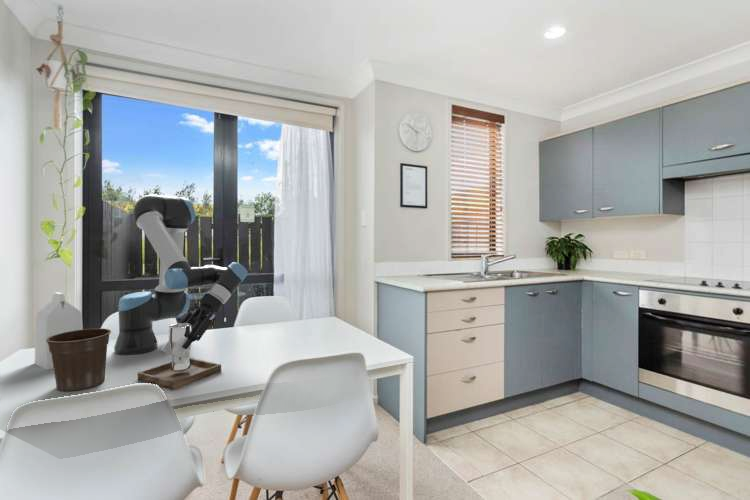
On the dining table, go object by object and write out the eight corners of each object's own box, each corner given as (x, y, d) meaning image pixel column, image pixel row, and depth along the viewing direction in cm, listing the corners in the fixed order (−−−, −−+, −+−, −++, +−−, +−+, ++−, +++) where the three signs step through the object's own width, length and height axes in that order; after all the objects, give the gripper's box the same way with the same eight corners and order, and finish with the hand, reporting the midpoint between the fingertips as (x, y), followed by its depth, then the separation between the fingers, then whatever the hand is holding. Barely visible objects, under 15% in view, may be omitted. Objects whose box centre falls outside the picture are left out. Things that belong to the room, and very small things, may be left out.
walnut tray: (137, 380, 122) (137, 372, 122) (186, 363, 139) (186, 356, 138) (174, 390, 115) (174, 382, 114) (221, 371, 131) (221, 364, 131)
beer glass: (182, 373, 123) (181, 328, 122) (164, 371, 124) (163, 327, 123) (196, 366, 129) (196, 323, 129) (179, 364, 131) (178, 322, 130)
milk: (85, 360, 141) (84, 292, 140) (46, 369, 131) (44, 296, 130) (72, 354, 147) (71, 289, 146) (34, 363, 137) (32, 293, 136)
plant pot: (34, 389, 114) (33, 338, 114) (91, 372, 129) (90, 326, 129) (68, 398, 108) (67, 344, 108) (123, 378, 124) (122, 330, 123)
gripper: (237, 308, 133) (193, 366, 120) (207, 302, 144) (163, 354, 131) (223, 295, 128) (176, 354, 115) (193, 290, 139) (147, 342, 127)
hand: (169, 354), depth 123 cm, fingers closed on beer glass, 7 cm apart
